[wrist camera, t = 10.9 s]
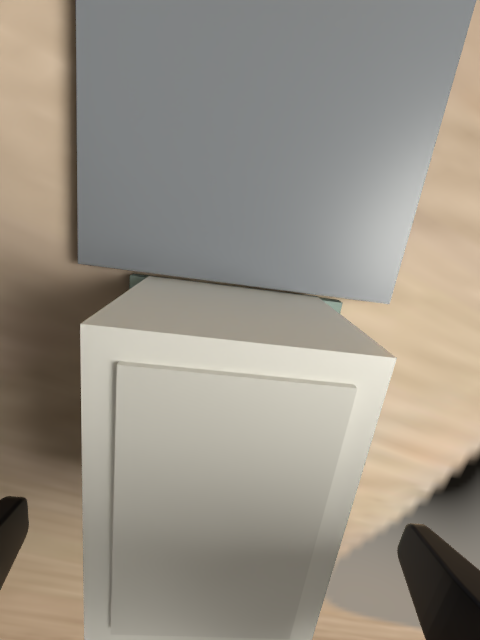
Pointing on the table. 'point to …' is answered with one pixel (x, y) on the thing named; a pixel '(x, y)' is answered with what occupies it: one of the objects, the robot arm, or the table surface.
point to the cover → (219, 458)
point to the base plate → (260, 136)
